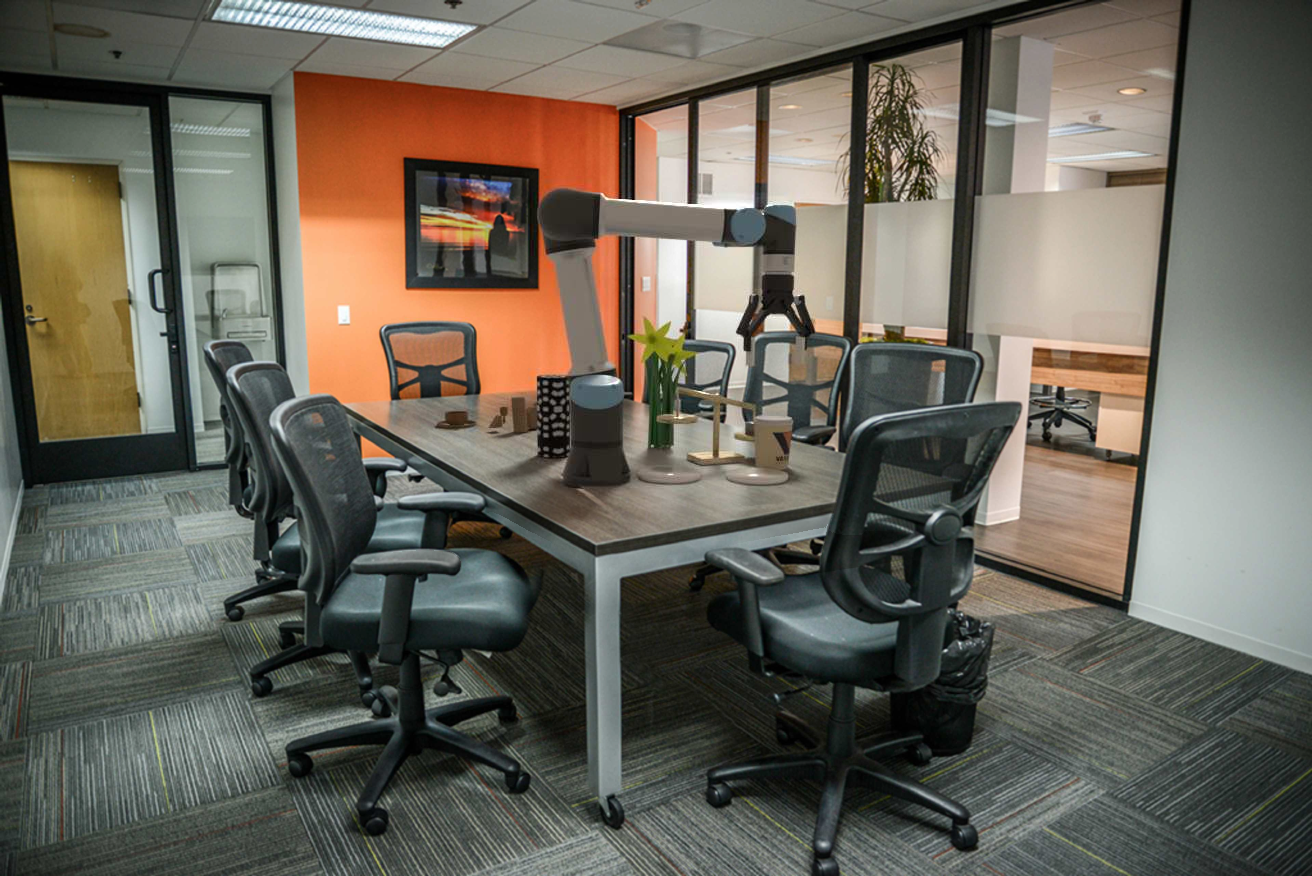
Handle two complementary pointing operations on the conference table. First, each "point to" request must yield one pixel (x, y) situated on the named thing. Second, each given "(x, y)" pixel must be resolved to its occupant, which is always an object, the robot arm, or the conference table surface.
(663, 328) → the daffodil flowers
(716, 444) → the balance
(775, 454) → the coffee cup
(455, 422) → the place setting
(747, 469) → the dish
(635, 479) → the conference table surface
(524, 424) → the wooden block set
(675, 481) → the disc
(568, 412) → the spotted tube
